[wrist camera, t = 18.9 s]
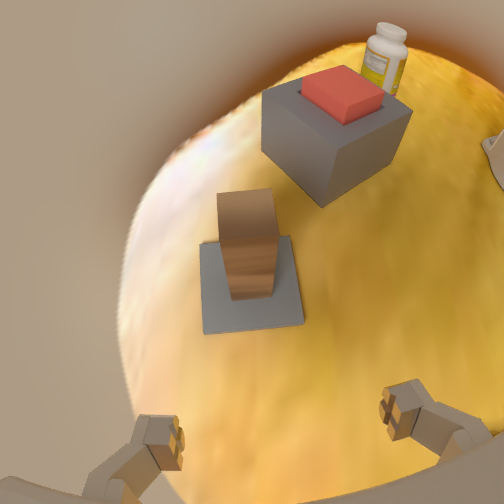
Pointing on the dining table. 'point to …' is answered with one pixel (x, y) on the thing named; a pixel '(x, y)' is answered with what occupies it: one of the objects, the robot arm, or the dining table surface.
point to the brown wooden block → (248, 242)
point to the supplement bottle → (385, 57)
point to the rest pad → (254, 310)
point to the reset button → (342, 94)
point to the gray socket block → (328, 141)
